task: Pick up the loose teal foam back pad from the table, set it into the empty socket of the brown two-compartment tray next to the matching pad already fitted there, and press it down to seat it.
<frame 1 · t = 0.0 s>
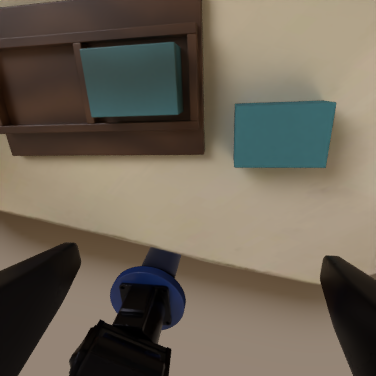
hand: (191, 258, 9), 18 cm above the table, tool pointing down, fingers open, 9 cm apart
brown two-compartment tray: (95, 85, 26), on the table
pad: (275, 131, 25), on the table
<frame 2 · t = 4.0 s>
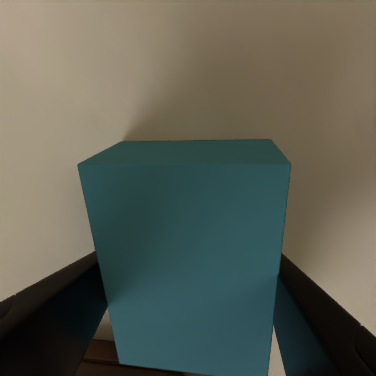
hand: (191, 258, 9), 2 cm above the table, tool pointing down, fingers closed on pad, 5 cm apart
pad: (195, 235, 11), on the table, touching gripper
when the fingers open (3 cm above the table, at t = 9.6 s): pad stays where it is, resting on brown two-compartment tray.
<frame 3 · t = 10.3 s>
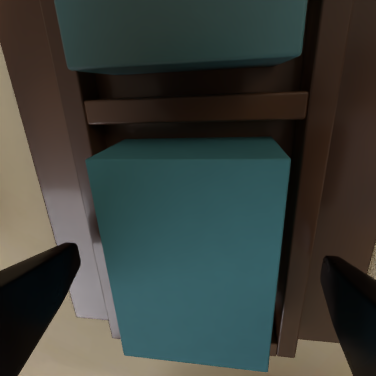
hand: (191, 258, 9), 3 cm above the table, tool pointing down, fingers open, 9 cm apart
brown two-compartment tray: (197, 104, 10), on the table
pad: (198, 230, 11), point 1 cm above the table, touching brown two-compartment tray
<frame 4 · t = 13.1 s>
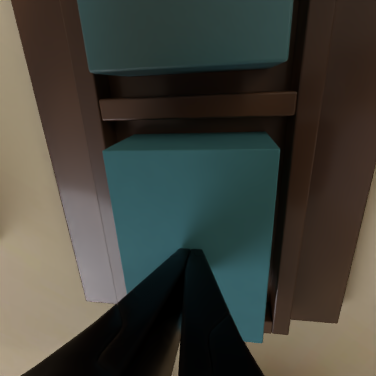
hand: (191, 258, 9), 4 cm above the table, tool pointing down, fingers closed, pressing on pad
brown two-compartment tray: (199, 103, 11), on the table
pad: (199, 218, 12), point 1 cm above the table, touching brown two-compartment tray, gripper
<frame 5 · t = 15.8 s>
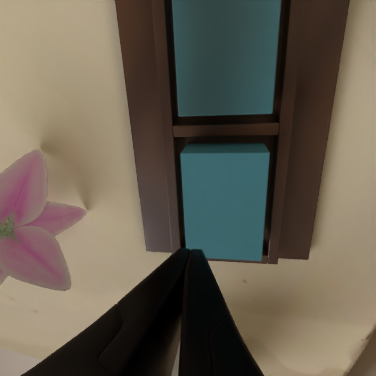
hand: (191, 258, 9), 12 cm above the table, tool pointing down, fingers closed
brown two-compartment tray: (224, 125, 19), on the table
pad: (224, 193, 20), point 1 cm above the table, touching brown two-compartment tray
lily: (45, 203, 24), on the table
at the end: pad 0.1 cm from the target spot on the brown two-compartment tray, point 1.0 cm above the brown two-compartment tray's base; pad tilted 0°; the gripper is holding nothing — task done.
